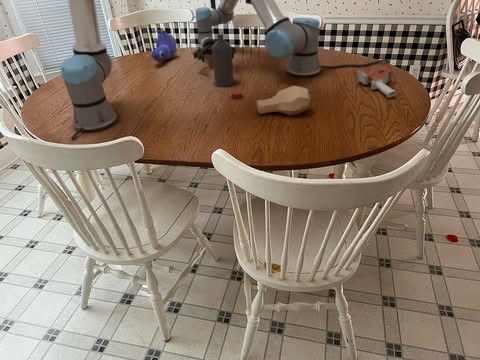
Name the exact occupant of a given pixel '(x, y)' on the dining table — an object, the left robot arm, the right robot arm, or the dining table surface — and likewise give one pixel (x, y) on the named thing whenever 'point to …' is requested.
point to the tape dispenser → (377, 80)
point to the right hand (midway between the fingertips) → (218, 57)
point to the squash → (286, 101)
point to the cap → (236, 94)
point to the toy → (164, 47)
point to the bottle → (222, 62)
